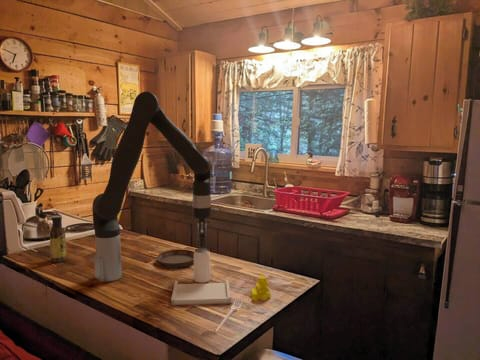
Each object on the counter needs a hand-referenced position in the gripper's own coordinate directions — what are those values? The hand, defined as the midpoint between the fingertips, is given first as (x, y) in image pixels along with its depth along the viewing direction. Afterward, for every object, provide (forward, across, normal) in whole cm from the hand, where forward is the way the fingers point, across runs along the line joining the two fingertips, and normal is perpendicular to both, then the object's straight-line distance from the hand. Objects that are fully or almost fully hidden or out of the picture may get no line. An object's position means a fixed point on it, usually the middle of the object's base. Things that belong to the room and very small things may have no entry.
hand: (202, 246), depth 158 cm
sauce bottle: (+10, +16, +64) cm, 66 cm away
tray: (+10, -23, 0) cm, 25 cm away
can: (+10, -10, 0) cm, 15 cm away
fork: (+11, -40, -8) cm, 42 cm away
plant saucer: (+11, +11, +11) cm, 19 cm away
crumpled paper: (+11, -26, -20) cm, 35 cm away
